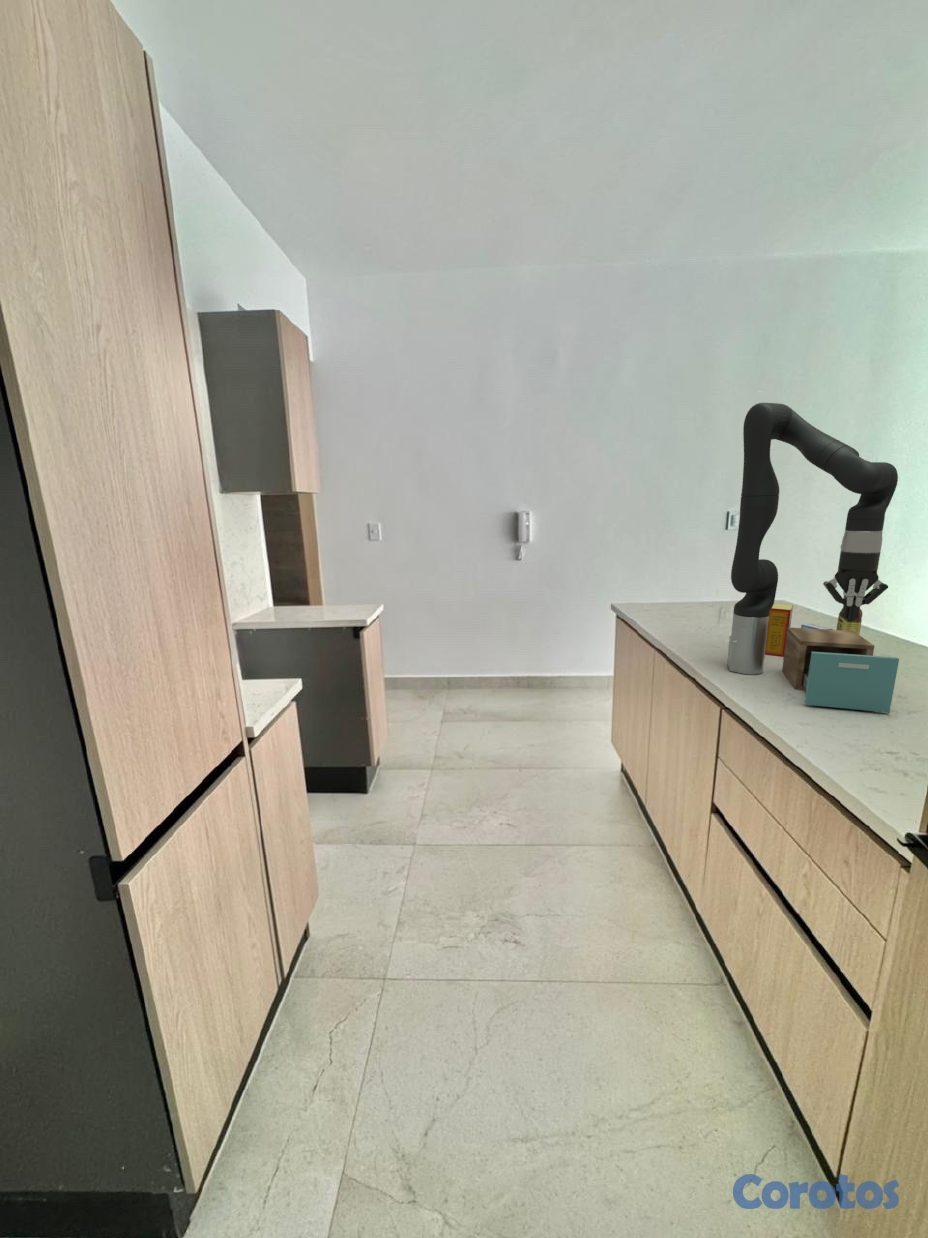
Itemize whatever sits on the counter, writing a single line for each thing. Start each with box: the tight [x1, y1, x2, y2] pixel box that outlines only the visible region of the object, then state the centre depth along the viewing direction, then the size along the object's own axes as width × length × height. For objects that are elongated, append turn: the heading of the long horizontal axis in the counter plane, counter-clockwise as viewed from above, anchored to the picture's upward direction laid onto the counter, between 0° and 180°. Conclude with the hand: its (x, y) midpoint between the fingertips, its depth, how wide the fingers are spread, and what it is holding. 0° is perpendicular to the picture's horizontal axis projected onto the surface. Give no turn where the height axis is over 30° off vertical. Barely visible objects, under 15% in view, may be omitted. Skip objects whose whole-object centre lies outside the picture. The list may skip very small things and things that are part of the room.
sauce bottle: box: [835, 607, 863, 635], centre depth 166 cm, size 7×6×20 cm
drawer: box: [802, 652, 900, 713], centre depth 127 cm, size 17×15×13 cm
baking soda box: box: [765, 602, 794, 658], centre depth 166 cm, size 10×6×16 cm
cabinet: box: [781, 627, 875, 691], centre depth 139 cm, size 16×15×14 cm
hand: (849, 620), depth 124 cm, fingers closed
